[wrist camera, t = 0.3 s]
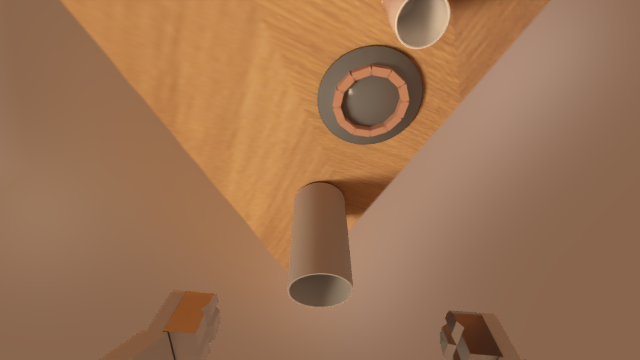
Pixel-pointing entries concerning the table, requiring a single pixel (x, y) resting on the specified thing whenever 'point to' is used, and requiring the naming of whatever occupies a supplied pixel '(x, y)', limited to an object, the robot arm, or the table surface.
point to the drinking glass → (417, 20)
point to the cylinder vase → (319, 248)
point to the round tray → (370, 94)
